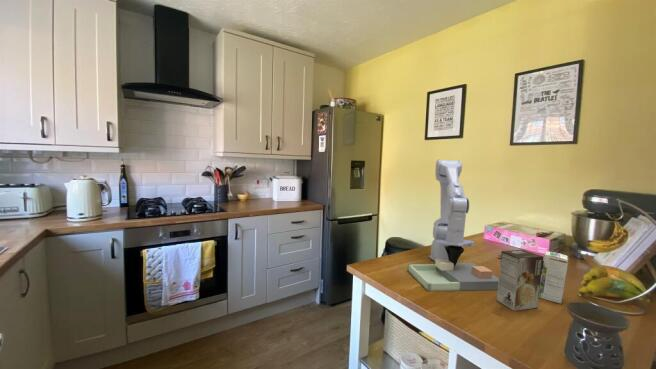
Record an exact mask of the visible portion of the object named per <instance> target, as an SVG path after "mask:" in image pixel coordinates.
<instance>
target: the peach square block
mask: <svg viewBox="0 0 656 369" xmlns="http://www.w3.org/2000/svg"><path fill="white" fill-rule="evenodd" d="M471 273H472V274H474V275H475V276H477V277H478V278H480V279H481V278H492V274H493V271H492V270H491V269H489V268H487V267H486V266H484V265H477V266H472V271H471Z"/></svg>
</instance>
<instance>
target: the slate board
mask: <svg viewBox="0 0 656 369" xmlns="http://www.w3.org/2000/svg"><path fill="white" fill-rule="evenodd" d="M472 266H478V264H475V262H457V263H456V266H453V270H443V271H442V270H440V269H439V268H438V267H436V271H437V272H439V273H440V274H441V275H442V276H444V277H445V278H446V279H447V280H449V281H450V282H459V283H460V288H459V291H460V292H461V291H496V290H497V291H498V282H499V276H498V277H497V276H496V275H494V274H493V273H492V278H481V279H480V278H478V277H477V276H475V275H474V274H472V273H471V271H472Z"/></svg>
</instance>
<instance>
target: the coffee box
mask: <svg viewBox="0 0 656 369" xmlns="http://www.w3.org/2000/svg"><path fill="white" fill-rule="evenodd" d="M500 255H501V257H500V263H499V264H500V266H499V274H498V278H499V282H498V290H497V292H496V302H497V301H498V302H499V303H501V304H503V305H504V306H505V307H507V308H508V309H510V310H512V311H514V312H515V311H522V310H529V309H530V310H531V309H536V308H538V306H539V299H540V298H539V291H540V284H541V276H542V274H541V273H542V265H543V261H544V256H543V255H541V254H537V253H534V252H533V251H528V250H526V249H514V250H502V251H501V254H500Z"/></svg>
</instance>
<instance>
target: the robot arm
mask: <svg viewBox="0 0 656 369" xmlns="http://www.w3.org/2000/svg"><path fill="white" fill-rule="evenodd" d="M435 162H436V163H435V179H436V180H437V181H438V182H439V186H440V217H439V218H438V219H436V220H435V221H434V222H433V228H432V237H433V240H432V242H431V249H430V255H428V258H429V259H432V260H433V262H434V263H435V262H436V259H447V260H449V261H450V262H452V263H453V264H454V266H456V263H458V261H459V259H460V257H461V255H462V254H463V253H464V252H465V248H464V247H471V248H474V247H475V242H474V241H473V240H469V239H468V240H467V239H464V238H465V228H466V227H465V226H466V217H467V214H469V211H470V200H469V198H468V196H467V195H465V192H464V186H463V185H462V184H461V183H460V182H459V178H460V176H461V173H462V170H463V162H462V161H461V160H460V159H459V160H453V159H451V160H450V159H449V160H448V159H437V160H436V161H435Z"/></svg>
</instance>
